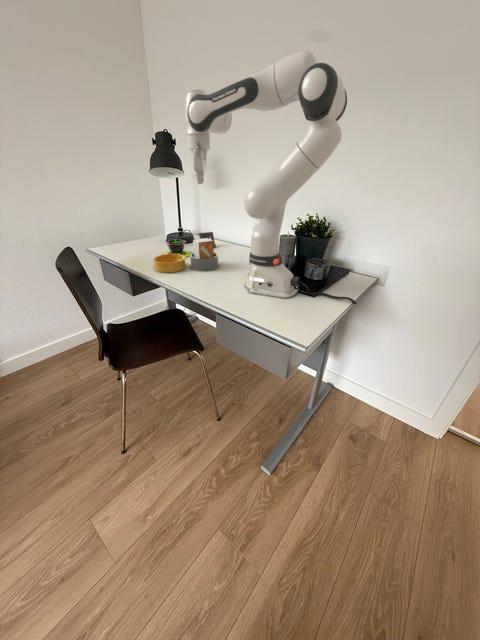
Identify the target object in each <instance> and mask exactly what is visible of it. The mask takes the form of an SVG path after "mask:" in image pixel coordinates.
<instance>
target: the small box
mask: <svg viewBox="0 0 480 640" xmlns="http://www.w3.org/2000/svg"><path fill="white" fill-rule="evenodd" d="M214 242H215V241H214ZM214 242H213V240H211V238H210V239H209V238H204V239H200V238H198V239H197V238H196V239H192V245H193V253H194V258H198V259H208V258H213V257H214V252H215V250H214V249H215V247H214Z"/></svg>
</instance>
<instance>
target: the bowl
mask: <svg viewBox="0 0 480 640" xmlns="http://www.w3.org/2000/svg"><path fill="white" fill-rule="evenodd" d="M152 260H153V265H154V270H155V271H157V272H160V273H165V274H166V273H167V274H168V273H177V272H181V271H183V270H184V269H185V268H186V265H187V264H186V257H184V256H183V255H179V254H165V253H163V254H159V255H156V256H155V257H153V259H152Z"/></svg>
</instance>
